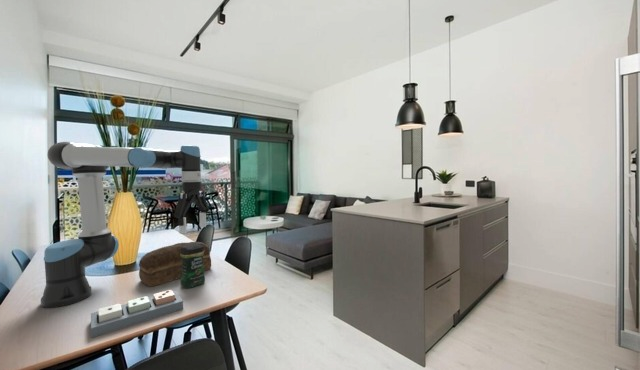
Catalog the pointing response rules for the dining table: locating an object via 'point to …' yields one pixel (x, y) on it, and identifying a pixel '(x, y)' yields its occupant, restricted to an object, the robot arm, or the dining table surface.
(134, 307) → the button two
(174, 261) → the bread
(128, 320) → the console
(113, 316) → the button one
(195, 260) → the coffee jar
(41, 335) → the dining table surface
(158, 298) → the button three
